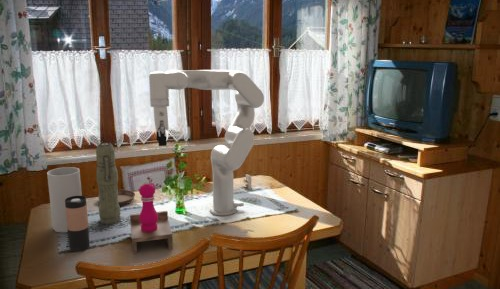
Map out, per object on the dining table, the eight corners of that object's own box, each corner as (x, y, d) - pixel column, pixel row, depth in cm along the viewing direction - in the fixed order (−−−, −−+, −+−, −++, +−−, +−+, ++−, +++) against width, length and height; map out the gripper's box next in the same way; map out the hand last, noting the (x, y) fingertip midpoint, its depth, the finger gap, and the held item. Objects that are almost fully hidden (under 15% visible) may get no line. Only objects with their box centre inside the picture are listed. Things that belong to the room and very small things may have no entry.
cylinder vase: (53, 224, 195) (47, 169, 189) (83, 219, 200) (78, 165, 194) (53, 235, 184) (46, 177, 178) (85, 230, 189) (80, 173, 183)
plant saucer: (136, 205, 218) (135, 199, 217) (98, 209, 213) (97, 203, 212) (134, 193, 234) (134, 188, 234) (99, 197, 229) (98, 191, 229)
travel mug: (72, 243, 176) (68, 195, 172) (92, 243, 177) (88, 195, 172) (66, 252, 169) (61, 202, 164) (87, 251, 170) (83, 202, 165)
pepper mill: (154, 233, 172) (151, 183, 167) (136, 231, 173) (133, 182, 168) (161, 225, 179) (159, 178, 174) (144, 224, 180) (141, 177, 175)
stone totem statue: (118, 214, 206) (112, 140, 198) (123, 223, 196) (118, 145, 188) (98, 217, 202) (91, 142, 194) (102, 226, 192) (96, 147, 184)
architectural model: (246, 190, 240) (246, 177, 239) (239, 187, 246) (239, 174, 245) (251, 189, 242) (251, 176, 240) (245, 186, 248) (245, 173, 246)
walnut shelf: (168, 230, 188) (167, 210, 186) (172, 248, 173) (172, 226, 170) (131, 235, 184) (130, 214, 182) (132, 253, 168) (131, 231, 166)
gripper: (171, 105, 176) (173, 147, 180) (166, 99, 192) (168, 138, 196) (152, 105, 174) (154, 148, 178) (148, 100, 190) (150, 139, 194)
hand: (161, 143), depth 187 cm, fingers open, 9 cm apart
